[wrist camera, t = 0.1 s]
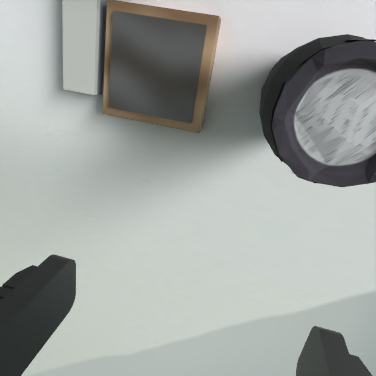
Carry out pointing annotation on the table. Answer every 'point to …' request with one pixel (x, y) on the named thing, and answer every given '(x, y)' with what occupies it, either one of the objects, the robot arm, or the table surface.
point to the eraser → (84, 45)
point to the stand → (158, 64)
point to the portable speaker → (324, 110)
